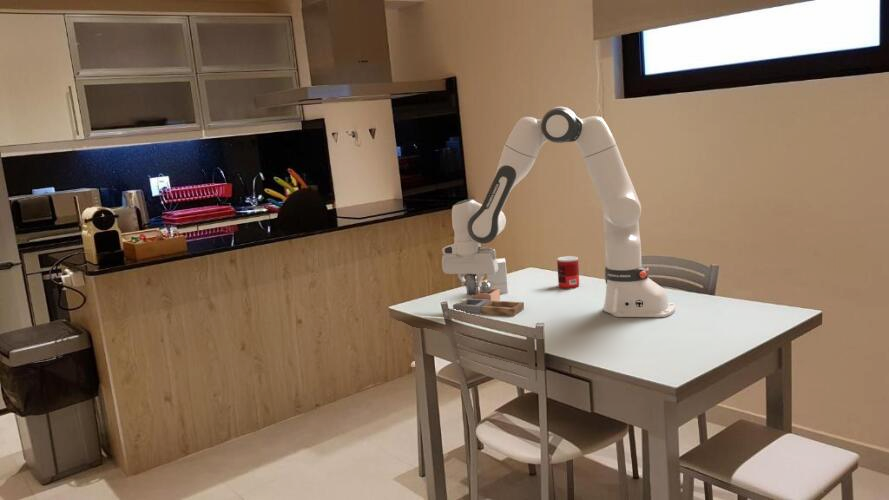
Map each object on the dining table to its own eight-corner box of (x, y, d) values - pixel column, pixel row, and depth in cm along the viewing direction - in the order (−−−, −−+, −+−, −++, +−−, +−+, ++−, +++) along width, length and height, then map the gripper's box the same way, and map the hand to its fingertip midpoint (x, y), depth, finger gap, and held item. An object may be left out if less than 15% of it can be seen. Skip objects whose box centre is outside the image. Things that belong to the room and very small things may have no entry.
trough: (524, 310, 232) (523, 302, 231) (514, 317, 225) (514, 308, 225) (492, 308, 238) (491, 300, 237) (482, 315, 231) (481, 306, 231)
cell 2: (494, 300, 246) (492, 279, 244) (488, 303, 243) (486, 283, 241) (484, 299, 248) (482, 279, 246) (479, 302, 245) (477, 282, 243)
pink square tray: (500, 301, 247) (499, 289, 246) (491, 306, 241) (490, 294, 240) (482, 300, 250) (481, 288, 249) (473, 305, 244) (472, 293, 243)
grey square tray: (490, 307, 239) (490, 298, 239) (479, 315, 232) (478, 306, 231) (465, 306, 244) (464, 297, 244) (453, 313, 237) (452, 304, 236)
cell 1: (480, 292, 237) (478, 271, 236) (475, 295, 234) (473, 273, 233) (470, 292, 239) (468, 270, 238) (464, 295, 236) (462, 273, 235)
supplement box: (508, 290, 262) (505, 257, 259) (508, 295, 254) (505, 261, 252) (488, 291, 262) (486, 259, 260) (488, 296, 255) (485, 263, 253)
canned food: (582, 284, 260) (581, 256, 258) (574, 289, 253) (573, 260, 251) (563, 283, 264) (562, 255, 262) (555, 288, 258) (553, 260, 255)
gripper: (499, 244, 231) (503, 284, 234) (446, 245, 241) (451, 283, 244) (491, 248, 226) (495, 289, 228) (437, 249, 236) (442, 287, 239)
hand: (471, 286), depth 236 cm, fingers closed on cell 1, 4 cm apart
